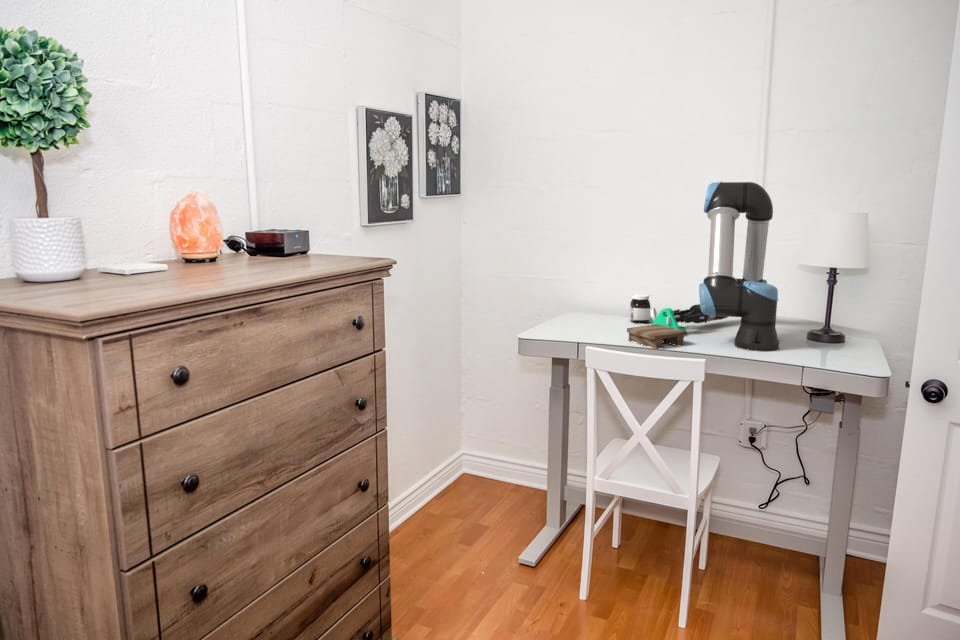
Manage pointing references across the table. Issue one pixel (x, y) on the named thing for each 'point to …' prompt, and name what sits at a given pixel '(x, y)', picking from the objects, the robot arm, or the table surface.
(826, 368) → the table surface
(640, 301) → the spread jar
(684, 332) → the walnut stand
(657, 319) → the camera mount
